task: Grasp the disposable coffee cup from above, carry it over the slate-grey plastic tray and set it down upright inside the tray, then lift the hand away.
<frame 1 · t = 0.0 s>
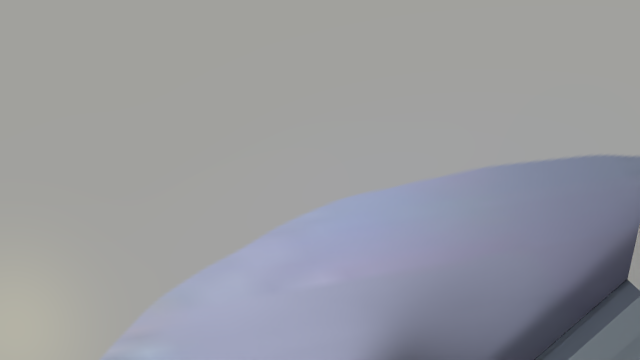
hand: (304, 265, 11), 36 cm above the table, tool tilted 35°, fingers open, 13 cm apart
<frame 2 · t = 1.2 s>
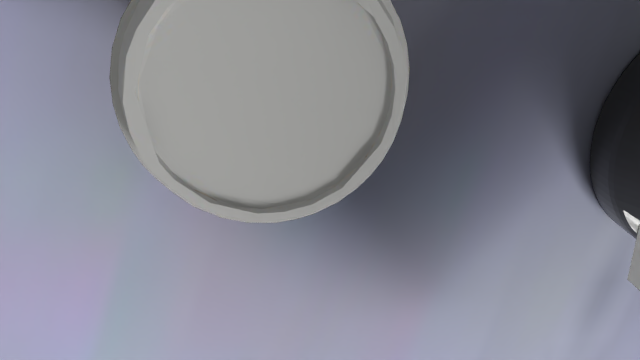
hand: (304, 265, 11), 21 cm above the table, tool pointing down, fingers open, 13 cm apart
disposable coffee cup: (243, 19, 29), on the table
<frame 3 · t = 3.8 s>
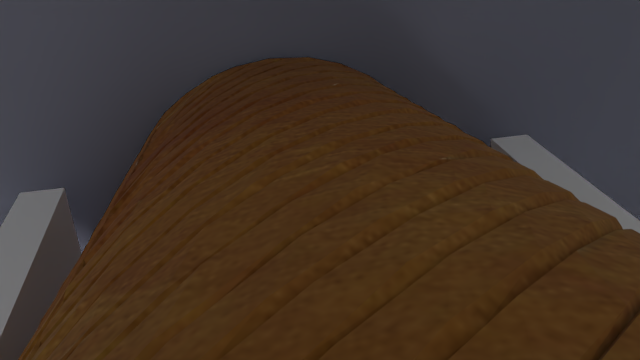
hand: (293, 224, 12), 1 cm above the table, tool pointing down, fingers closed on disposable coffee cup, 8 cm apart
disposable coffee cup: (286, 201, 13), on the table, touching gripper
when the fingers open (3 cm above the table, at t = 10.3 s): disposable coffee cup drops 2 cm, resting on tray.
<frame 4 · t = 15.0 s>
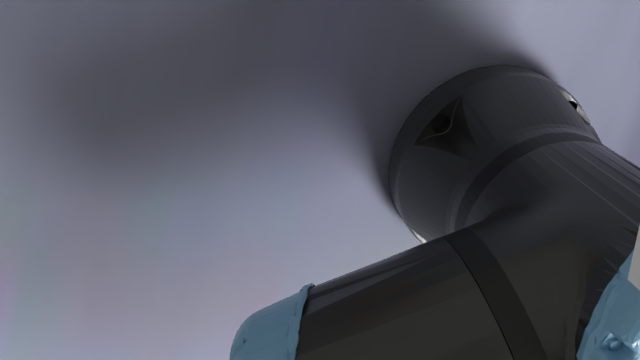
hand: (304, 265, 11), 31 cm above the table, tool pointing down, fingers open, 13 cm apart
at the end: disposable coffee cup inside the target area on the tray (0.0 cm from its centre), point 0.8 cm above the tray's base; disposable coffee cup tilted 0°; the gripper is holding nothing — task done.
